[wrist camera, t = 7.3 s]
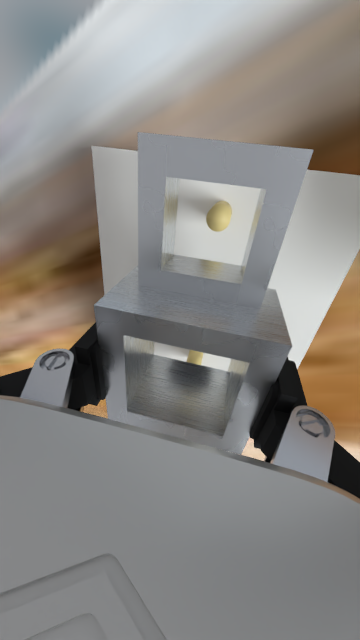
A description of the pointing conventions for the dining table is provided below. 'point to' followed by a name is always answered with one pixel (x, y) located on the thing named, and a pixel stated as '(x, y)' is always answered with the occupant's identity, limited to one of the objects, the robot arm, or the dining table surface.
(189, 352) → the post block
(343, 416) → the dining table surface
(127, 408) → the bracket
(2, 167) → the dining table surface
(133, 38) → the dining table surface
